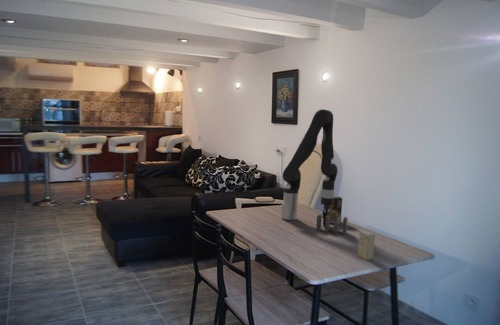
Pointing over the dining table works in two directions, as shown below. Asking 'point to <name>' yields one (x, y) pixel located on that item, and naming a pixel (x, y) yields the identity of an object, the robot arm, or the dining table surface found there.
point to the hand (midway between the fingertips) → (325, 223)
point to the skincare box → (366, 245)
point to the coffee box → (336, 209)
